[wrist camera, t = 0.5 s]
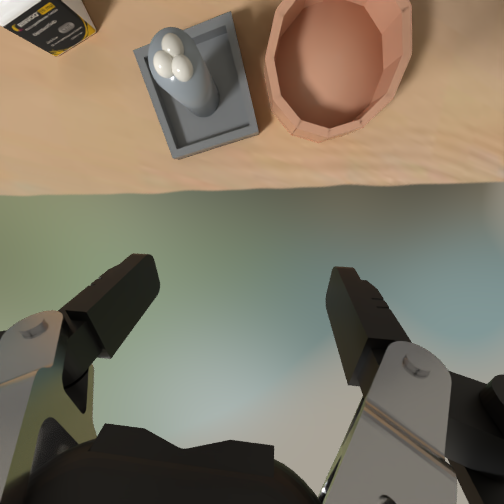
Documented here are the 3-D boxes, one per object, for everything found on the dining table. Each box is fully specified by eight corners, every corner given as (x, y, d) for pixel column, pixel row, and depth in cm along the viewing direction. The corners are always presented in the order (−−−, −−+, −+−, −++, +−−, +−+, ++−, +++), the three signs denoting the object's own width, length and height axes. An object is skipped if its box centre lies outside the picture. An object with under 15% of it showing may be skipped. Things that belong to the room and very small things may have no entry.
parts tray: (143, 60, 29) (133, 50, 27) (233, 24, 27) (230, 11, 25) (179, 159, 33) (173, 158, 31) (258, 134, 32) (258, 131, 29)
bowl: (253, 22, 27) (251, -9, 22) (383, -29, 25) (411, -74, 20) (280, 154, 32) (283, 151, 28) (389, 121, 30) (412, 112, 26)
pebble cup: (178, 81, 29) (131, 29, 18) (212, 68, 28) (184, 7, 18) (191, 122, 31) (155, 96, 20) (224, 111, 30) (204, 78, 19)
